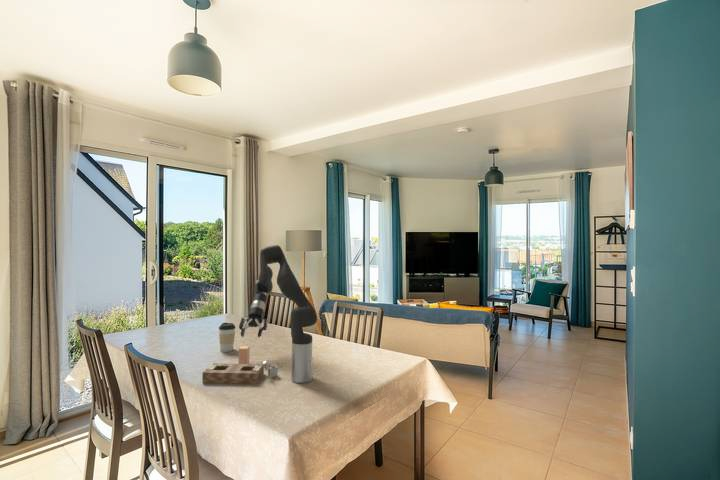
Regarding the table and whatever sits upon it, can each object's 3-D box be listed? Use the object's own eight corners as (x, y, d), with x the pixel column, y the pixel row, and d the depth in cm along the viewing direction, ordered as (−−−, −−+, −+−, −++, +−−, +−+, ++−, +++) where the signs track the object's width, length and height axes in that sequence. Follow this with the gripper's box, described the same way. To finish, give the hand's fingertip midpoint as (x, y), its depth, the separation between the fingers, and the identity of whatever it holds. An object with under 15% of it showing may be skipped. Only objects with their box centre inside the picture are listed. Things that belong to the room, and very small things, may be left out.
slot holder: (263, 373, 175) (263, 363, 175) (256, 383, 163) (256, 372, 163) (213, 372, 175) (213, 362, 175) (202, 382, 163) (202, 371, 163)
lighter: (275, 374, 174) (276, 358, 174) (277, 375, 172) (278, 358, 172) (262, 378, 169) (262, 361, 169) (263, 379, 168) (264, 362, 168)
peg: (249, 366, 185) (249, 346, 185) (246, 369, 181) (247, 348, 181) (241, 366, 185) (241, 346, 185) (238, 368, 181) (238, 348, 181)
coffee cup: (238, 349, 211) (238, 323, 211) (223, 353, 205) (223, 326, 205) (230, 346, 217) (230, 321, 217) (215, 349, 211) (215, 323, 211)
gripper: (242, 306, 201) (235, 332, 190) (268, 306, 201) (262, 332, 190) (245, 313, 207) (238, 339, 195) (271, 314, 206) (265, 340, 195)
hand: (250, 336), depth 192 cm, fingers open, 8 cm apart
